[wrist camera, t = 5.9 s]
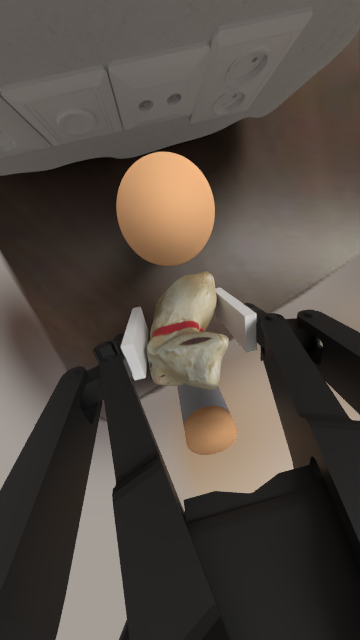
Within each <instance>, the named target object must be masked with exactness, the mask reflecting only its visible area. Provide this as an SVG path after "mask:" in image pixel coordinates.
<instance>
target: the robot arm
mask: <svg viewBox="0 0 360 640" xmlns="http://www.w3.org/2000/svg"><path fill="white" fill-rule="evenodd" d="M215 290H216V296H217V302H216V308H215V313H216V316H217V317H218V318H219V320H220V321H221V322H222V323H223V325H224V326H225V327H226V328H227V329H228V331H229V332H230V333H231V334H232V335H233V337H234V338H235V339H236V340H237V342H238V343H239V344H240V345H241V346H242V347H243V349H244V350H245V351H246V352H250V351H254V350H257V343H258V344H259V345H260V346H261V361H262V360H263V361H264V365H265V368H266V372H267V375H268V379H269V382H270V385H271V389H272V392H273V396H274V399H275V403H276V406H277V409H278V413H279V416H280V420H281V423H282V426H283V430H284V433H285V437H286V440H287V444H288V447H289V451H290V454H291V457H292V461H293V467H294V469H293V470H289V471H285V472H282V473H279V474H277V475H276V476H275V477H273V478H272V479H271V480H269V481H268V482H267V483H265V484H264V485H263V486H261V487H260V488H259V489H258V490H256V491H255V492H253V493H233V492H219V491H214V492H210V493H207V494H203V495H200V496H196V497H193V498H189V499H186V500H184V506H185V512H184V510H183V508H182V505H181V503H180V501H179V498H178V496H177V493H176V491H175V488H174V485H173V483H172V481H171V478H170V475H169V473H168V470H167V468H166V465H165V463H164V460H163V458H162V455H161V453H160V450H159V448H158V445H157V443H156V440H155V438H154V435H153V433H152V430H151V428H150V425H149V423H148V420H147V418H146V415H145V413H144V410H143V408H142V405H141V402H140V400H139V397H138V395H137V392H136V390H135V387H134V385H133V382H132V380H131V378H132V376H133V378H134V380H139V379H143V378H146V367H147V351H146V348H147V344H148V333H149V331H148V328H147V325H146V322H145V319H144V316H143V312H142V309H141V307H136V308H133V309H132V312H131V315H130V318H129V321H128V325H127V328H126V331H125V333H123V334H119V335H117V336H116V337H115V338H114V341H107V342H104V343H101V344H99V345H98V346H97V347H95V348H94V350H93V353H94V355H95V357H96V359H97V361H98V363H99V365H98V366H97V367H95V368H92V369H90V370H88V371H86V369H85V368H84V367H81V366H80V367H75V368H72V369H70V370H69V371H67V372H66V373H65V374H64V375H63V376H62V377H61V379H60V380H59V382H58V384H57V386H56V388H55V390H54V392H53V393H52V396H51V397H50V399H49V401H48V403H47V405H46V407H45V408H44V410H43V412H42V414H41V416H40V418H39V419H38V421H37V423H36V425H35V427H34V429H33V431H32V433H31V434H30V436H29V438H28V440H27V442H26V444H25V446H24V447H23V449H22V451H21V453H20V455H19V457H18V459H17V461H16V462H15V464H14V466H13V468H12V470H11V472H10V474H9V475H8V477H7V479H6V481H5V483H4V485H3V487H2V488H1V490H0V640H55V639H56V635H57V632H58V627H59V622H60V618H61V614H62V609H63V605H64V600H65V596H66V590H67V585H68V580H69V574H70V569H71V564H72V559H73V553H74V548H75V542H76V538H77V532H78V527H79V522H80V517H81V511H82V506H83V501H84V496H85V490H86V485H87V480H88V475H89V469H90V464H91V459H92V453H93V448H94V443H95V438H96V432H97V427H98V422H99V417H100V411H101V406H102V400H103V399H104V403H105V410H106V417H107V423H108V430H109V436H110V444H111V449H112V457H113V463H114V470H115V477H116V486H115V488H113V494H112V497H113V508H114V516H115V524H116V532H117V541H118V549H119V557H120V565H121V573H122V581H123V589H124V597H125V605H126V614H127V621H126V623H125V626H124V628H123V631H122V633H121V636H120V638H119V640H360V421H354V420H351V419H350V418H349V417H348V415H347V414H346V413H345V411H344V409H343V408H342V406H341V405H340V403H339V402H338V400H337V398H336V397H335V395H334V394H333V392H332V391H331V389H330V388H329V386H328V385H327V383H328V384H329V385H330V386H331V387H332V388H333V389H334V390H335V391H336V392H337V393H338V394H339V395H340V396H341V397H342V398H343V399H345V401H346V402H348V404H350V406H352V407H353V408H354V409H355V410H356V411H357V412H358V413H359V414H360V333H359V332H358V331H356V330H354V329H352V328H350V327H348V326H346V325H344V324H342V323H341V322H339V321H337V320H335V319H333V318H331V317H329V316H327V315H325V314H323V313H322V312H319V311H314V310H303V311H300V312H299V313H298V315H297V318H296V319H285V318H284V317H283V316H282V315H279V314H275V313H269V314H267V313H266V312H264V311H262V310H261V309H259V308H258V307H256V306H255V305H253V304H250V303H245V304H243V303H241V302H240V301H238V300H237V299H236V298H234V297H233V296H231V295H230V294H229V293H227V292H226V291H224V290H223V289H222V288H216V289H215ZM320 340H321V342H322V343H323V347H322V346H321V345H320ZM325 381H326V382H327V383H326V382H325Z"/></svg>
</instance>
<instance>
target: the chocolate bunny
mask: <svg viewBox="0 0 360 640" xmlns="http://www.w3.org/2000/svg"><path fill="white" fill-rule="evenodd" d="M216 302H217V296H216V290H215V282H214V278H213V276H212V275H211V274H210V273H209V272H207V271H205V272H201V273H198V274H188V275H185V276H182V277H181V278H179V279H177V280H176V281H175V282H174V283H173V284H172V285H171V286H170V287H169V288H168V289H167V290H166V291H164V293H163V295H162V296H161V297H160V299H159V301H158V302H157V304H156V308H155V314H154V318H153V324H152V327H151V331H150V339H151V340H150V341H149V343H148V344H147V348H146V351H147V357H148V362H149V367H150V372H151V376H152V380H153V382H154V383H156V384H159V385H166V386H178V385H182V384H183V383H185V384H188V385H191V386H195V387H199V388H203V389H207V390H214V389H216V388H217V387H218V385H219V382H220V369H221V360H222V357H223V355H224V354H225V352H226V350H227V347H228V343H229V338H227V337H226V336H225V335H223V334H216V333H210V332H204V331H205V330H206V328H207V326H208V324H209V323H210V321H211V319H212V316H213V314H214V311H215V308H216Z"/></svg>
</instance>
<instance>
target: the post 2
mask: <svg viewBox="0 0 360 640" xmlns="http://www.w3.org/2000/svg"><path fill="white" fill-rule="evenodd" d="M178 393H179V399H180V405H181V411H182V418H183V424H184V430H185V436H186V443H187V446H188V448H189V449H190V450H191V451H192V452H194V453H196V454H200V455H210V454H215V453H218V452H221V451H223V450H225V449H227V448H228V447H229V446H231V445H232V444H233V443H234V441H235V440H236V438H237V434H238V431H237V428H236V425H235V423H234V421H233V419H232V417H231V414H230V412H229V410H228V408H227V405H226V403H225V401H224V399H223V396H222V394H221V392H220V389H219V387H217V388H216V389H214V390H207V389H203V388H199V387H195V386H191V385H188V384H185V383H183V384H182V385H178Z"/></svg>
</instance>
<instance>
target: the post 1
mask: <svg viewBox="0 0 360 640" xmlns="http://www.w3.org/2000/svg"><path fill="white" fill-rule="evenodd" d="M116 211H117V219H118V223H119V226H120V229H121V232H122V234H123V236H124V238H125V240H126V241H127V243H128V244H129V246H130V247H131V248H132V249H133V250H134V251H135V252H136V253H137V254H138V255H139V256H140V257H142V258H143V259H145V260H147V261H149V262H151V263H153V264H157V265H161V266H174V265H179V264H182V263H185V262H187V261H189V260H190V259H192V258H194V257H195V256H196V255H197V254H198V253H199V252H200V251H201V250H202V249H203V247H204V246H205V245H206V243H207V241H208V239H209V237H210V235H211V232H212V229H213V225H214V218H215V205H214V198H213V194H212V191H211V188H210V186H209V183H208V181H207V180H206V178H205V176H204V175H203V173H202V172H201V171H200V169H199V168H198V167H197V166H196V165H195V164H194V163H192V162H191V161H190V160H188V159H187V158H185V157H183V156H181V155H178V154H176V153H171V152H155V153H151V154H148V155H146V156H144V157H142V158H140V159H139V160H137V161H136V162H135V163H134V164H133V165H132V166H131V167H130V168H129V169H128V171H127V172H126V173H125V175H124V177H123V179H122V181H121V184H120V186H119V190H118V194H117V202H116Z"/></svg>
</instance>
